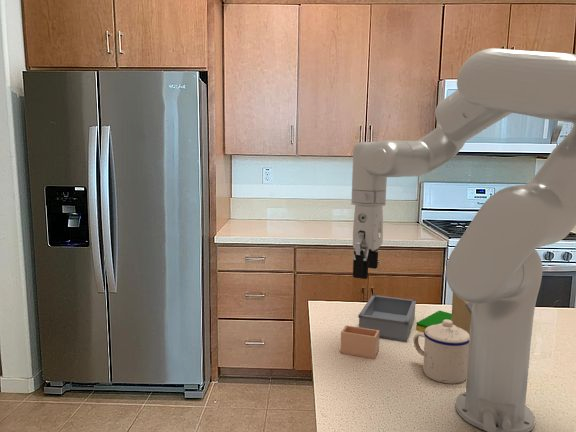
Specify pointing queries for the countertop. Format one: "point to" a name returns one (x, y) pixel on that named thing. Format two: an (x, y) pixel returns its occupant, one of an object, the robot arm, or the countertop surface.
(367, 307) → the big crate
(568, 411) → the countertop surface
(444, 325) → the teacup with lid
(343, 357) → the countertop surface
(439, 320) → the dish sponge
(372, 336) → the box
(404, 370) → the countertop surface
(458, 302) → the sandwich container
